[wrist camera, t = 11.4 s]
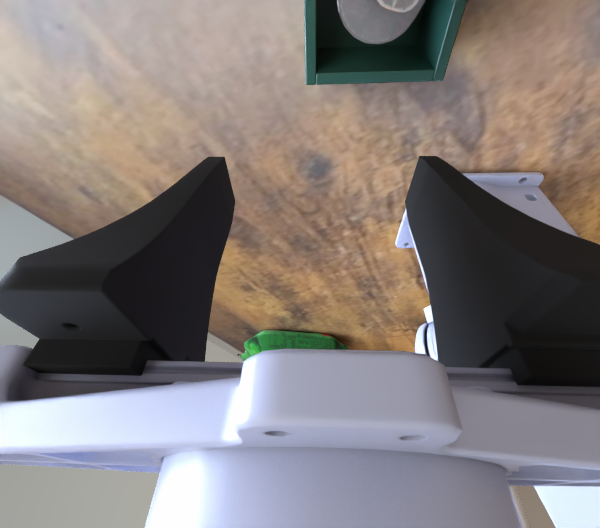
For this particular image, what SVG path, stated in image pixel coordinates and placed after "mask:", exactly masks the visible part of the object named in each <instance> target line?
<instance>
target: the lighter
mask: <svg viewBox="0 0 600 528" xmlns="http://www.w3.org/2000/svg"><path fill="white" fill-rule="evenodd" d="M424 2H425V0H337V5H338V11H339V14H340V16H341V19H342V21H343V24H344V26H345V28H346V29H347V30H348V31H349V32H350V33H351V34H352V35H353V36H354V37H355V38H357V39H359V40H361V41H363V42H365V43H371V44H381V43H385V42H388V41H392V40H394V39H395V38H397V37H398V36H399V35H401V34H402V33H404V32H405V31H406V30H407V29H408V27H409V26H410V25H411V23H412V22H413V21H414V20H415V18H416V16H417V14H418V13H419V11H420V9H421V7H422V6H423V4H424Z"/></svg>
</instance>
